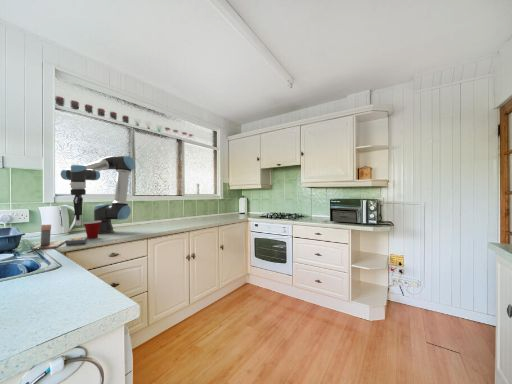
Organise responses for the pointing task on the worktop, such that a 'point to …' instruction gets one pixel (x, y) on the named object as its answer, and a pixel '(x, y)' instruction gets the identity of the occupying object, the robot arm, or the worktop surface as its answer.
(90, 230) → the plastic cup
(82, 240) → the button housing
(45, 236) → the marker
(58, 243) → the picture board
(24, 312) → the worktop surface
